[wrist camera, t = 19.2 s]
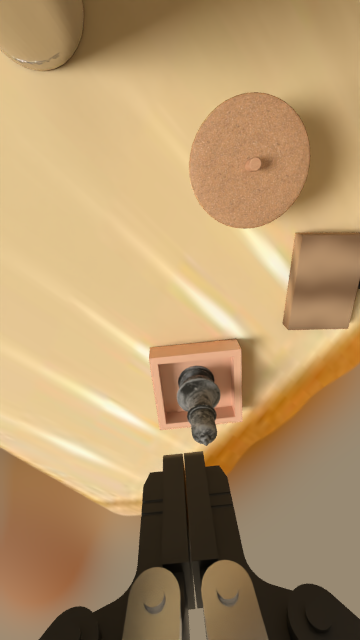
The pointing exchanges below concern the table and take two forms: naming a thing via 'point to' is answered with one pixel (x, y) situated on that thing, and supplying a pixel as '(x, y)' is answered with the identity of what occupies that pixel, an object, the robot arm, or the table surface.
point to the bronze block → (322, 281)
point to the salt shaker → (199, 402)
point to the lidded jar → (249, 160)
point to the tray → (212, 355)
